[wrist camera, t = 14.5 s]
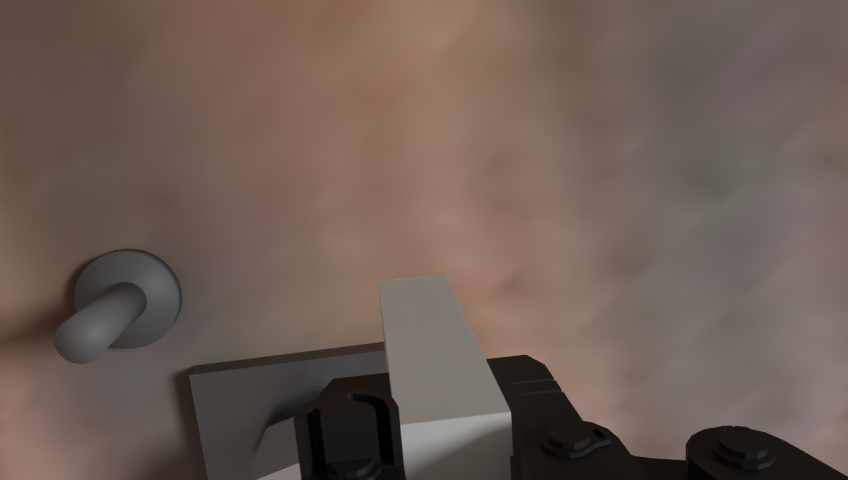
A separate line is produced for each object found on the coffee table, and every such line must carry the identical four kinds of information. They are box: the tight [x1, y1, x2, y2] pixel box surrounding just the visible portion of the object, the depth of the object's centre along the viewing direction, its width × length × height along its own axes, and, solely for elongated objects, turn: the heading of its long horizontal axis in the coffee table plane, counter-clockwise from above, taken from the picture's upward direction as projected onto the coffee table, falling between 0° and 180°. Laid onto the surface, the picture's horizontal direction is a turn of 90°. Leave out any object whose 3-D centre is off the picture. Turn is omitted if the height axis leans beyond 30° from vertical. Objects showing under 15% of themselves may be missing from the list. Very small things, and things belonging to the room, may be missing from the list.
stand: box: [54, 249, 182, 364], centre depth 38 cm, size 6×6×8 cm
